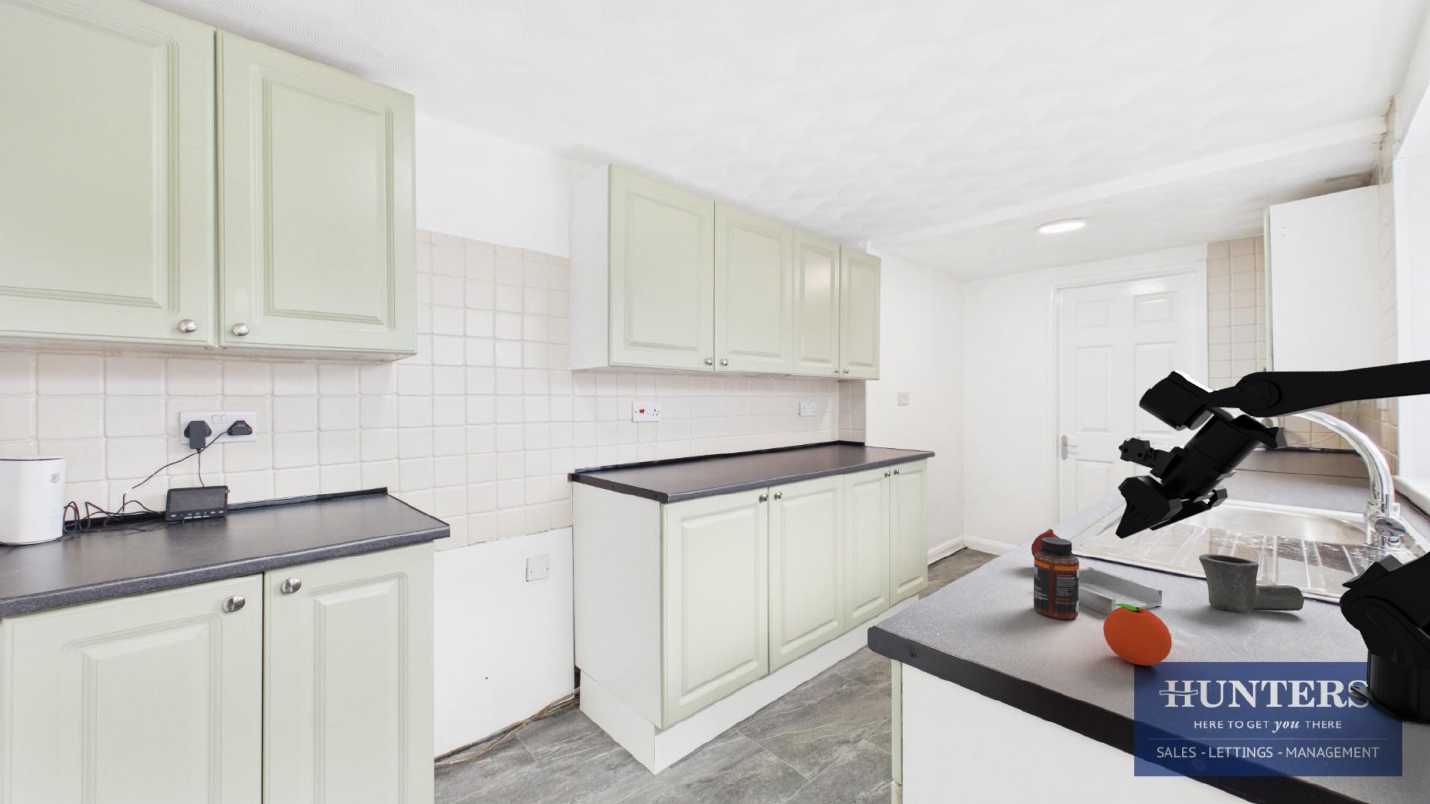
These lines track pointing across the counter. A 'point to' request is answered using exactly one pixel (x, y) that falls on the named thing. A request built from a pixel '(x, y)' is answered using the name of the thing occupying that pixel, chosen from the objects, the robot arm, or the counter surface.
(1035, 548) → the onion
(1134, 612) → the clementine
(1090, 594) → the aluminium tray
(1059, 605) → the supplement bottle
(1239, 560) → the pipe
